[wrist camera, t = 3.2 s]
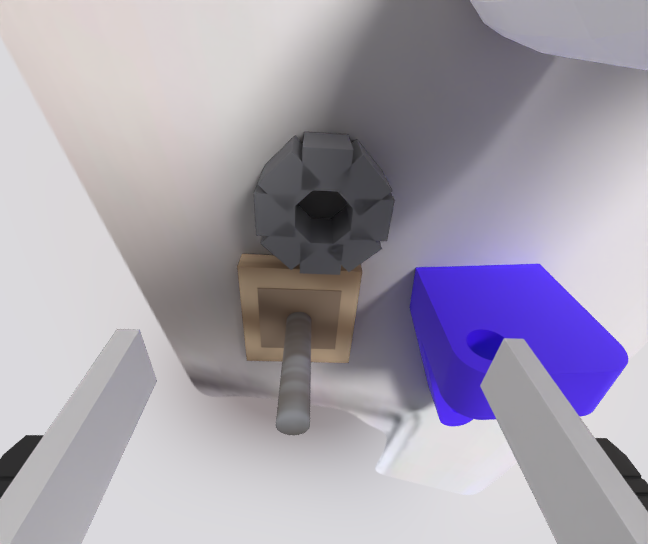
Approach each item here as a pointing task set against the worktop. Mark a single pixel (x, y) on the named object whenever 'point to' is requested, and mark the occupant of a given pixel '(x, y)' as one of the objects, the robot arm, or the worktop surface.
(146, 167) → the worktop surface
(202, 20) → the worktop surface
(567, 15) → the bottle
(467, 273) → the bracket
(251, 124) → the worktop surface
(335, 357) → the peg base board
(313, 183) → the dark grey gear
